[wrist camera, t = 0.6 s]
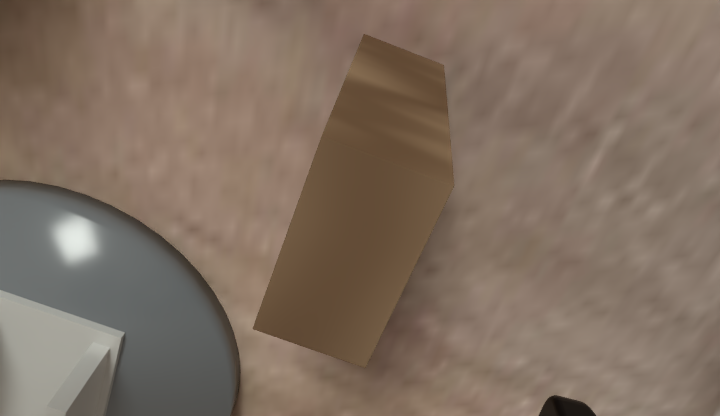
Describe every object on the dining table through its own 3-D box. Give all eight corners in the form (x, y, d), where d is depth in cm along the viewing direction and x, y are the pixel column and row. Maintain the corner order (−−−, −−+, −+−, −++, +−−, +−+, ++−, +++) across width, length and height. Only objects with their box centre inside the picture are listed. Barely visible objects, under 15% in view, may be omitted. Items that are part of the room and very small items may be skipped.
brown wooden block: (443, 65, 18) (454, 186, 11) (387, 194, 20) (364, 368, 13) (363, 33, 18) (321, 136, 11) (315, 168, 20) (252, 328, 13)
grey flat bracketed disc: (285, 266, 21) (253, 354, 18) (194, 515, 28) (155, 621, 24) (-127, 118, 20) (-262, 176, 16) (-124, 413, 27) (-220, 506, 23)
